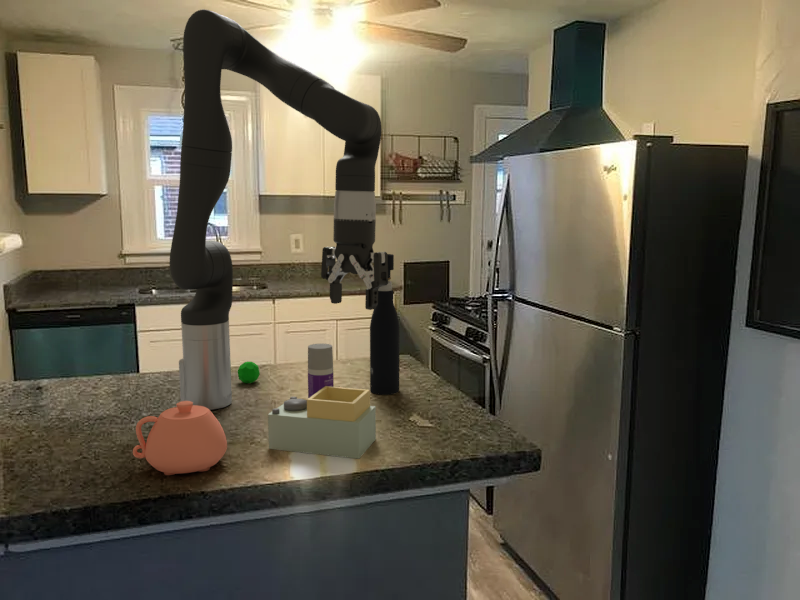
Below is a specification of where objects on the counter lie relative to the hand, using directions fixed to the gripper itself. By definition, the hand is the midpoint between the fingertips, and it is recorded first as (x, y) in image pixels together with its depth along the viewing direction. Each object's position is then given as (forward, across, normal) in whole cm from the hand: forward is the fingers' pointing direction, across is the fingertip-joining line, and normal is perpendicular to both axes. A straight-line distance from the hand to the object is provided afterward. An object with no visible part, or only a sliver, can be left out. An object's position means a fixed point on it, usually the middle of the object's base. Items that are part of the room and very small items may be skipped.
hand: (353, 306), depth 119 cm
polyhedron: (+24, -37, +6) cm, 44 cm away
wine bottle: (+22, -8, +20) cm, 31 cm away
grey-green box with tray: (+22, +4, -11) cm, 25 cm away
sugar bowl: (+23, -7, -32) cm, 40 cm away
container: (+22, -3, -5) cm, 23 cm away
